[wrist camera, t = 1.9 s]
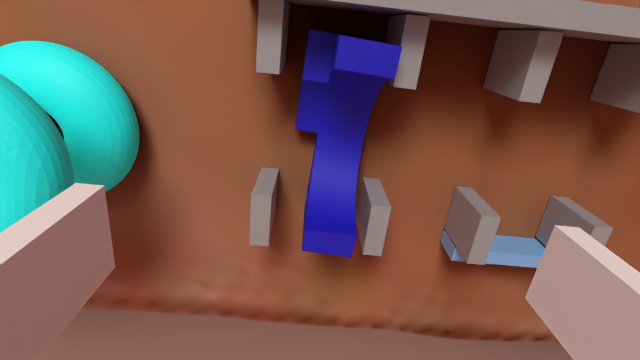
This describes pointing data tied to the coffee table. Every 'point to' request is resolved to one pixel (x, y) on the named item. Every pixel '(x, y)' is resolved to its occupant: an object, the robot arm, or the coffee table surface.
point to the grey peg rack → (502, 77)
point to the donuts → (73, 118)
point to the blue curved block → (338, 130)
